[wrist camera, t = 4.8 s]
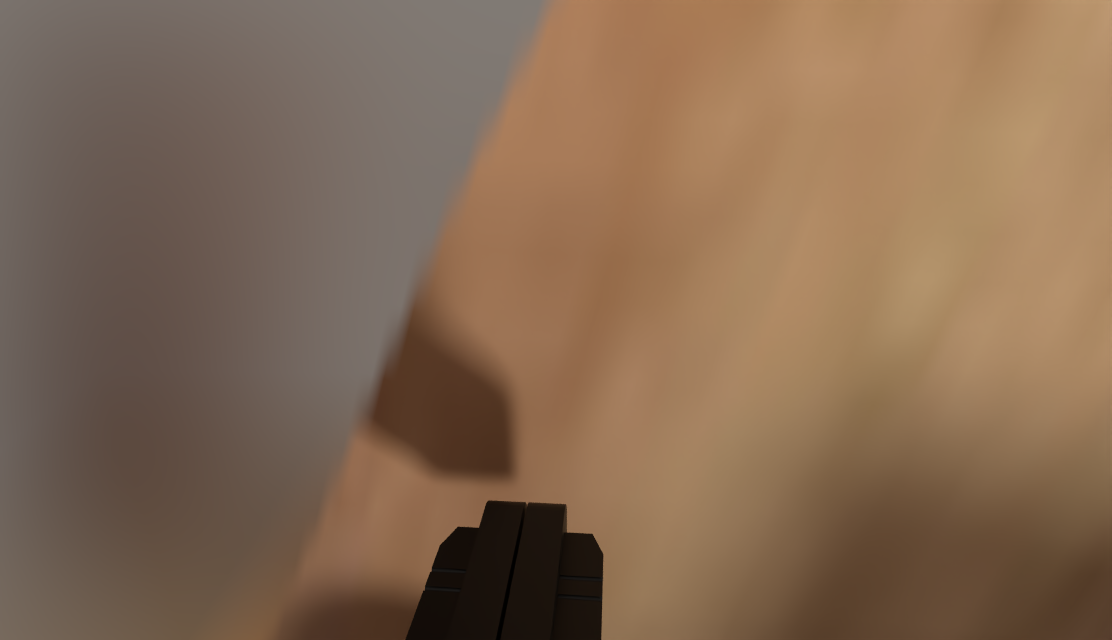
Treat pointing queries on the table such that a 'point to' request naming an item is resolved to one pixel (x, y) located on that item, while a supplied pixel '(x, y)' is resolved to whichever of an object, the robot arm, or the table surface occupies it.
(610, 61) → the table surface
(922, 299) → the table surface
